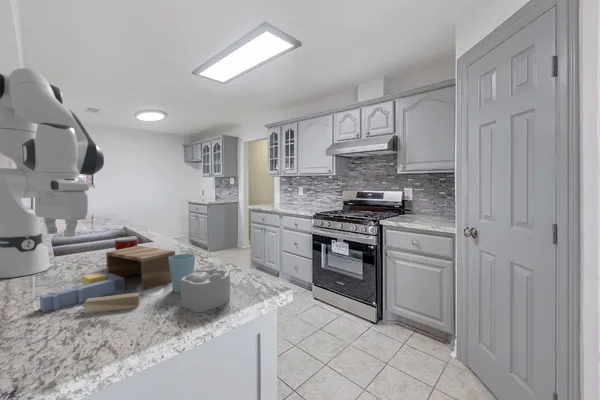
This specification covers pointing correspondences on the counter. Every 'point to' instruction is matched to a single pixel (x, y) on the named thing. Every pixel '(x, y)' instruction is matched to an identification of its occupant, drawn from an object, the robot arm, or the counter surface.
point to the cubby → (141, 264)
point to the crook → (81, 293)
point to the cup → (180, 269)
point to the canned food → (125, 242)
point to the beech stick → (111, 303)
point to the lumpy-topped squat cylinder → (205, 289)
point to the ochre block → (93, 278)
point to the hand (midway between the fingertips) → (60, 235)
